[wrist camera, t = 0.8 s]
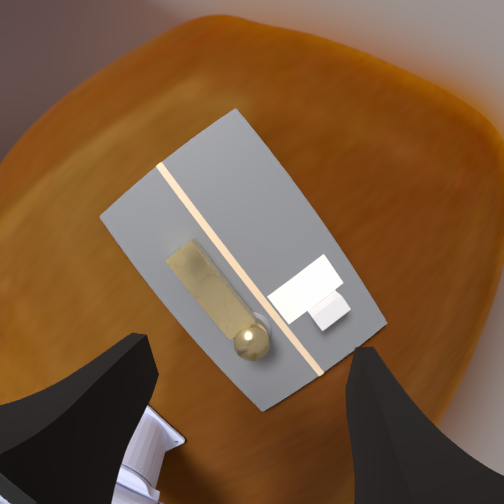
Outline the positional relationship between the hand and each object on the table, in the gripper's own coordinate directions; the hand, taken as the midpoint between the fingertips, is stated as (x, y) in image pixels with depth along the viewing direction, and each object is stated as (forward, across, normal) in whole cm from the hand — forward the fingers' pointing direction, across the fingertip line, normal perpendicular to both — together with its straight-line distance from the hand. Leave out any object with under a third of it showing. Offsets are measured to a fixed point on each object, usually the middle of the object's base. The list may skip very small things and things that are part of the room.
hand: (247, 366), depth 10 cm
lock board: (+16, +2, +5) cm, 17 cm away
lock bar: (+14, +4, +6) cm, 16 cm away
